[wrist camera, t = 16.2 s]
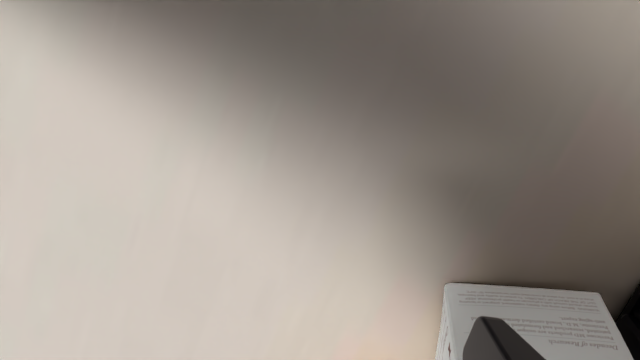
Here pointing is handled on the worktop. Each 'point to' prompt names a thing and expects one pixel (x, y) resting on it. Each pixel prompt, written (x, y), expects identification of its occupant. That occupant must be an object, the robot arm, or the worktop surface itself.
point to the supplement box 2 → (533, 321)
